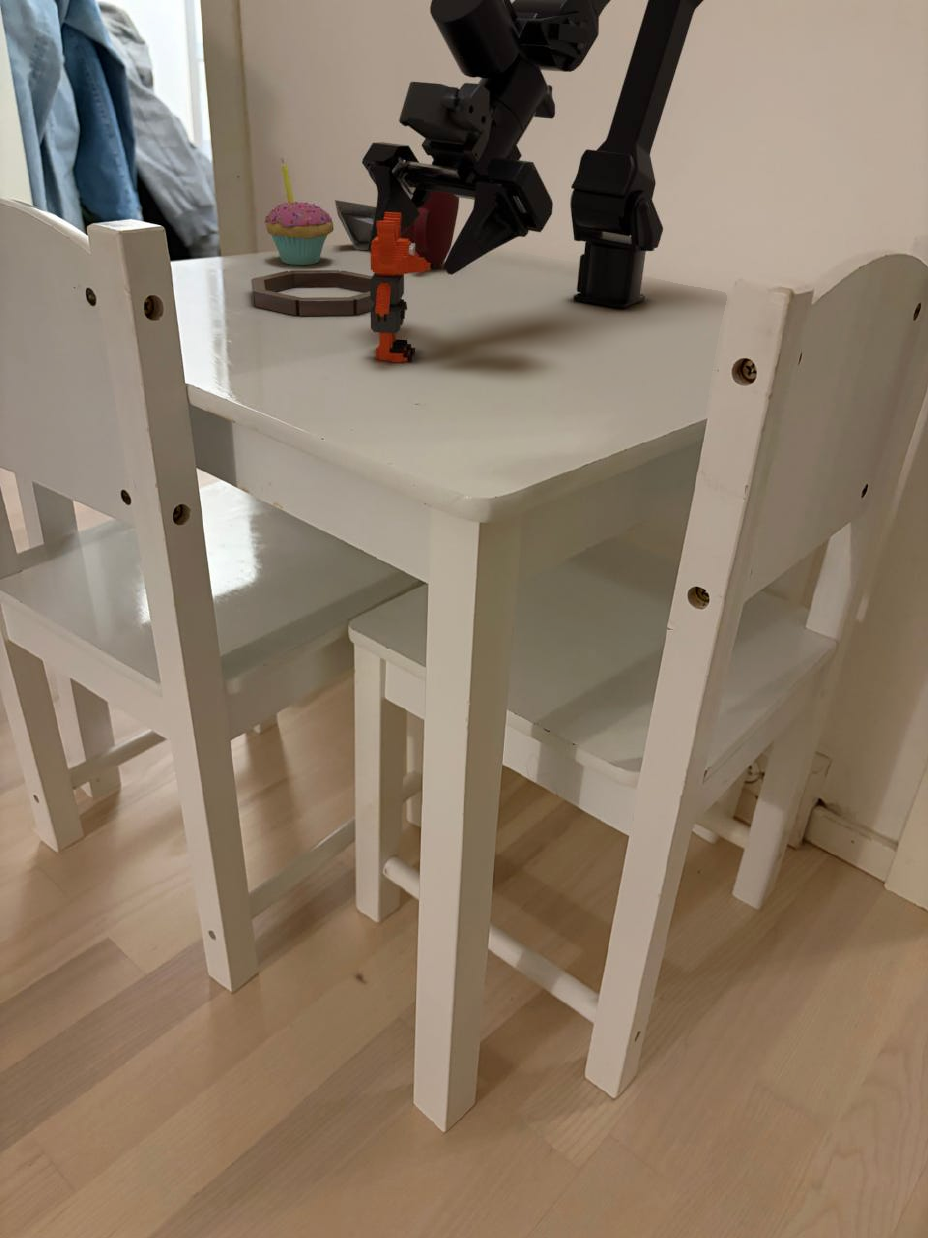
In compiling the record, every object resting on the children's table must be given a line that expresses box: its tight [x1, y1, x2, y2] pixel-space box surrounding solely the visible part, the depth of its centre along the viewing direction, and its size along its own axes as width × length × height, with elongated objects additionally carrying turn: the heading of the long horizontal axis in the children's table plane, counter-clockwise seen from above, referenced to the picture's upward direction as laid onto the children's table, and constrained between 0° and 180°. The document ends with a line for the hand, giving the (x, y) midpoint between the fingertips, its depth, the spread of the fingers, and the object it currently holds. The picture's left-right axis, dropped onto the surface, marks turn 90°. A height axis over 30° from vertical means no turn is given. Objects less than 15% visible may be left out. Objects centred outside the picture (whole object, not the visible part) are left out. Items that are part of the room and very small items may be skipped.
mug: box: [400, 190, 460, 270], centre depth 120 cm, size 10×8×10 cm
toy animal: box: [370, 212, 436, 363], centre depth 85 cm, size 8×6×12 cm
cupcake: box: [264, 157, 335, 266], centre depth 120 cm, size 9×8×12 cm
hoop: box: [250, 269, 374, 317], centre depth 105 cm, size 15×15×2 cm
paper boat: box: [334, 199, 376, 251], centre depth 130 cm, size 12×6×9 cm
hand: (408, 262), depth 84 cm, fingers open, 9 cm apart
